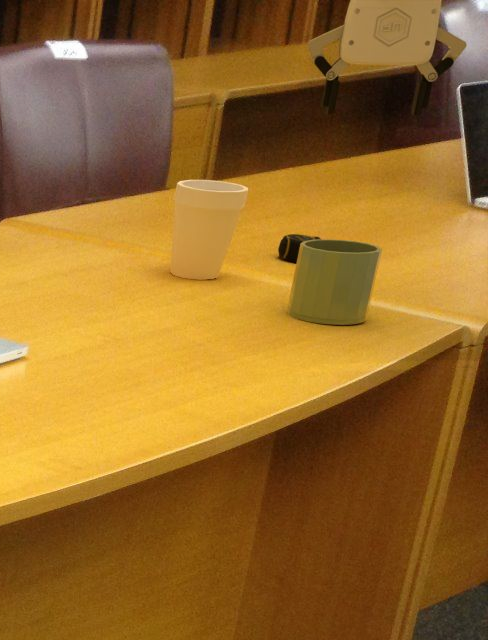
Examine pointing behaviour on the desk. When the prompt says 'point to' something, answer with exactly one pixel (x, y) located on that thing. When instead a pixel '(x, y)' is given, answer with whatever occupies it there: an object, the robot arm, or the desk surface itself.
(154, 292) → the desk surface
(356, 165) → the desk surface
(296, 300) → the ceramic cup
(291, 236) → the tape measure
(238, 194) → the foam cup
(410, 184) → the desk surface
